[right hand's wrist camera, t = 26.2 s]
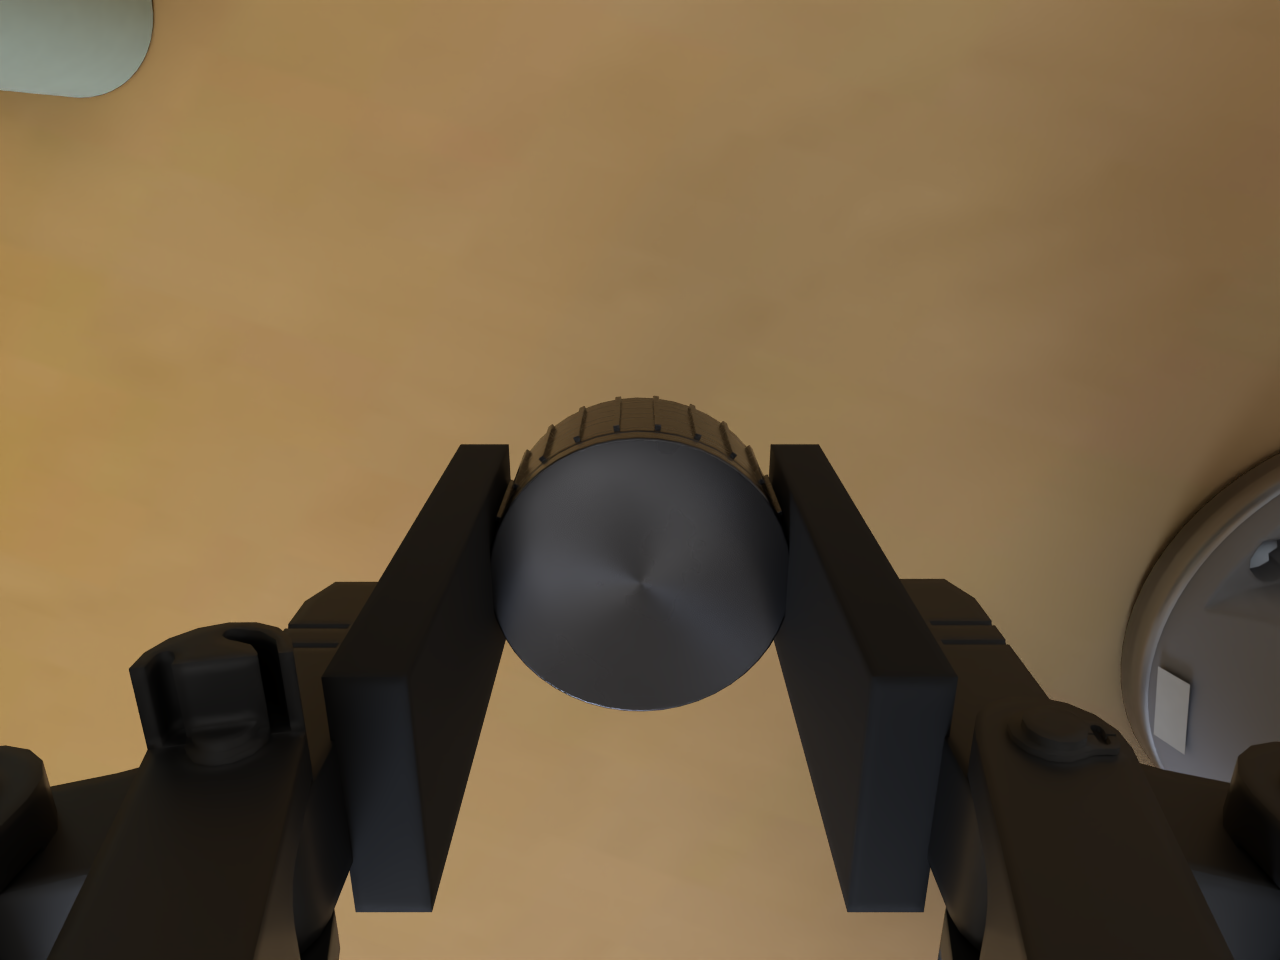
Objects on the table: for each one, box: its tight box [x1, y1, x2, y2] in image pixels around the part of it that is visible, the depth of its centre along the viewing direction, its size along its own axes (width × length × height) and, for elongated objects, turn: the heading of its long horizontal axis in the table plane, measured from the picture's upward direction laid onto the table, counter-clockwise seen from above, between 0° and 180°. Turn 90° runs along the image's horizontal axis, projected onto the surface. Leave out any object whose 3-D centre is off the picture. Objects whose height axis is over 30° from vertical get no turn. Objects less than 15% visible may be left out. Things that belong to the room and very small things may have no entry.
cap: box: [490, 396, 789, 711], centre depth 13 cm, size 4×4×2 cm
